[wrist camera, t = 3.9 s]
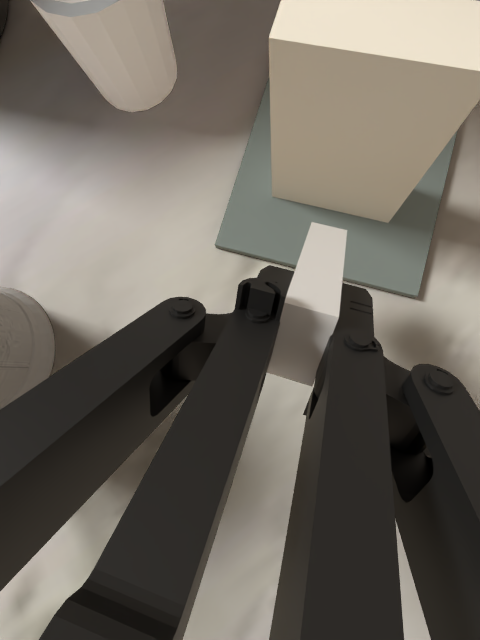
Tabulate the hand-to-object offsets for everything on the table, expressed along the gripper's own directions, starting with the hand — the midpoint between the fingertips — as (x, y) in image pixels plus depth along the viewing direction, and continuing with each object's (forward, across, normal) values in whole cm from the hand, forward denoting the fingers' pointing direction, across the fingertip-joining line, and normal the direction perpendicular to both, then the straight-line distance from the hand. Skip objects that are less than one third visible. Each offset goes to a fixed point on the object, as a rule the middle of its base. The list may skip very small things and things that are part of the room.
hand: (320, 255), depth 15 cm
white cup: (+12, -15, +4) cm, 20 cm away
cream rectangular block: (+8, 0, +1) cm, 8 cm away
